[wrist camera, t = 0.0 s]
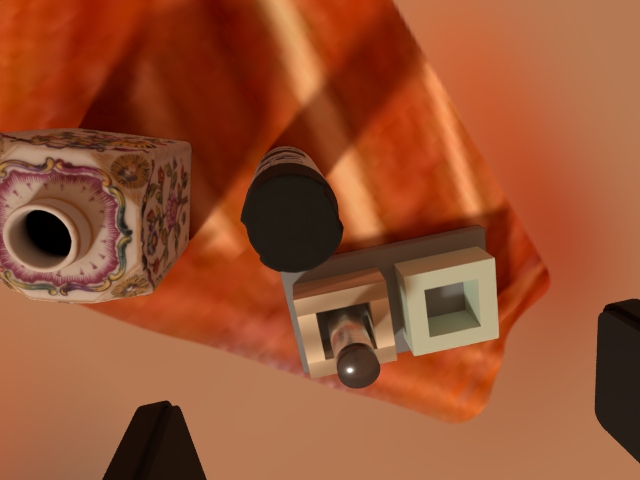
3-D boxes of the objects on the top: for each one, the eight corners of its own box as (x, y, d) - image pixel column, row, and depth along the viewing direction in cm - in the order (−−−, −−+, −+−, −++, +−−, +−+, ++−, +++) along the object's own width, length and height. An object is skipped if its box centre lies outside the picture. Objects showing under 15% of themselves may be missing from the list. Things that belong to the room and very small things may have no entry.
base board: (280, 266, 47) (280, 271, 45) (478, 224, 47) (484, 228, 46) (303, 366, 51) (304, 373, 50) (485, 326, 52) (490, 332, 50)
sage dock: (393, 263, 46) (404, 277, 42) (477, 246, 47) (494, 257, 43) (404, 337, 49) (414, 356, 46) (482, 320, 50) (498, 337, 46)
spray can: (304, 135, 43) (322, 153, 24) (326, 194, 45) (360, 253, 26) (246, 159, 43) (217, 196, 24) (271, 216, 45) (263, 291, 26)
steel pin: (322, 302, 47) (334, 356, 36) (355, 295, 47) (377, 347, 37) (328, 332, 48) (341, 392, 38) (361, 325, 48) (382, 383, 38)
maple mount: (292, 285, 46) (293, 300, 42) (377, 267, 46) (385, 280, 42) (309, 358, 49) (311, 378, 45) (388, 341, 49) (397, 359, 46)
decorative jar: (190, 246, 45) (134, 327, 28) (80, 236, 44) (-49, 315, 26) (194, 137, 42) (133, 154, 25) (75, 123, 40) (-78, 130, 23)
